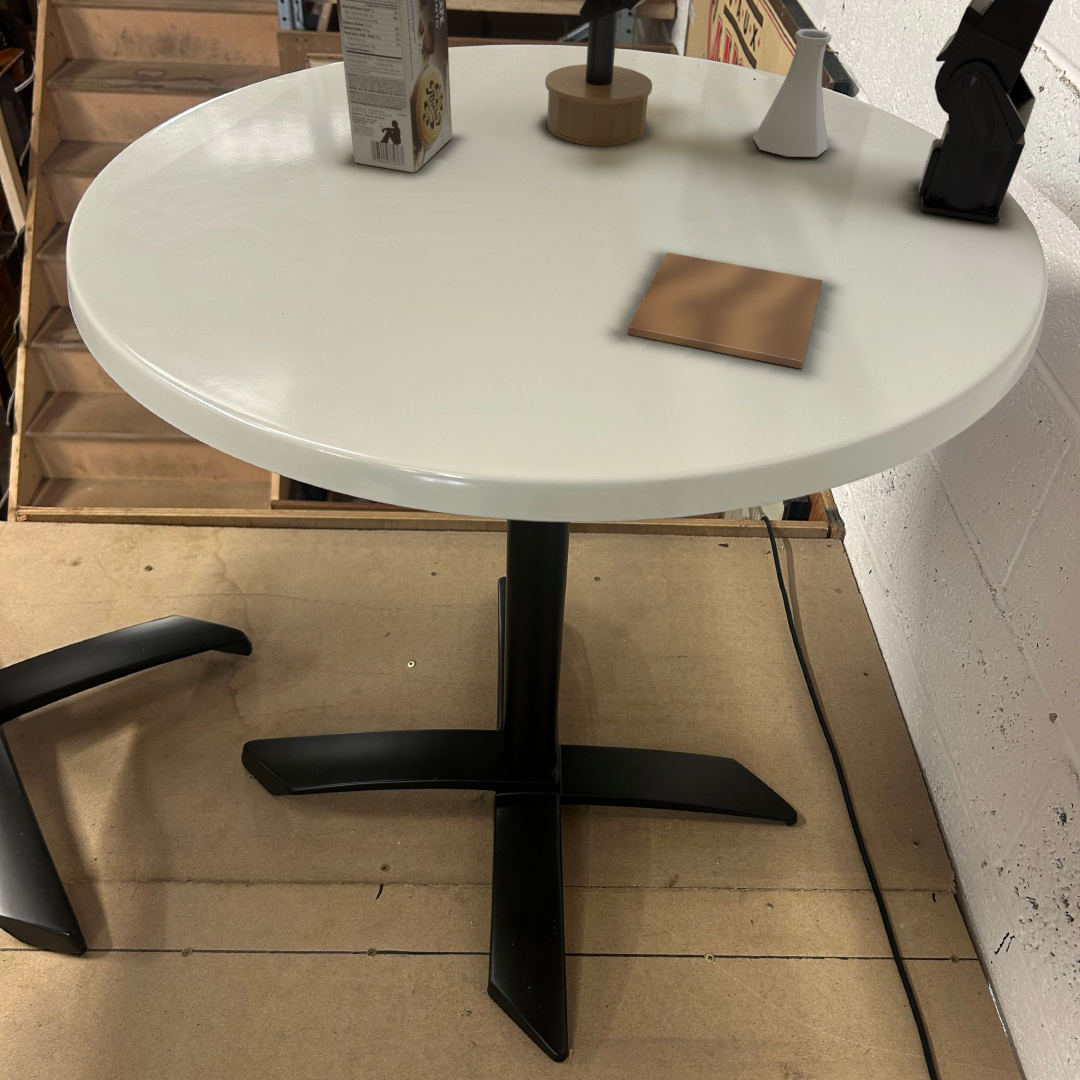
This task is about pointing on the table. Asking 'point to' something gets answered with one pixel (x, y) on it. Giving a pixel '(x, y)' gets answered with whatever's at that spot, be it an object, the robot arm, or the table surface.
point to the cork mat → (729, 309)
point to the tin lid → (599, 72)
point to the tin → (596, 121)
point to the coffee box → (396, 80)
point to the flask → (798, 103)
